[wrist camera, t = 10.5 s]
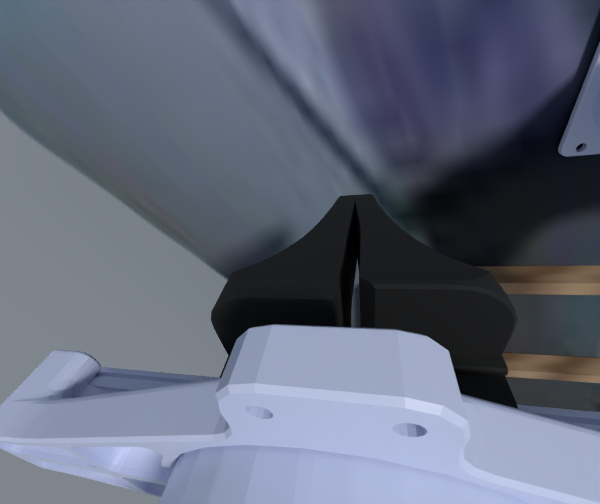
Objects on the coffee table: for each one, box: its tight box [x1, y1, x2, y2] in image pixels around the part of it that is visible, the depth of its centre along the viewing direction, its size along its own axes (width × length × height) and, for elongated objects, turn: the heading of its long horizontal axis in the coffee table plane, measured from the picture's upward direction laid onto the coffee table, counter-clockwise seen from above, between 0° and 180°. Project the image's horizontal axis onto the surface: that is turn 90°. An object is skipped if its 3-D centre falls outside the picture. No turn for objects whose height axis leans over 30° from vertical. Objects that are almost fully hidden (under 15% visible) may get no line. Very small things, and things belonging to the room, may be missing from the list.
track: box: [476, 266, 600, 383], centre depth 26 cm, size 22×13×4 cm, turn 99°
